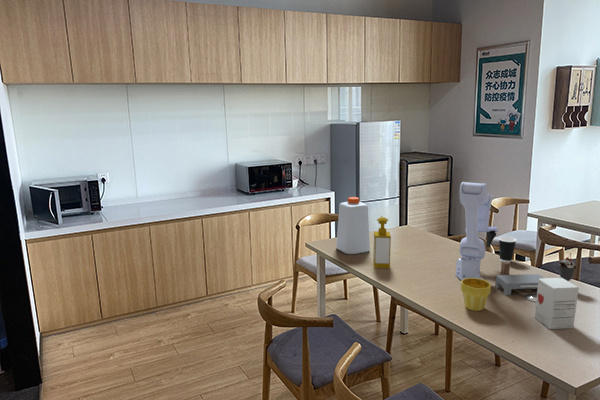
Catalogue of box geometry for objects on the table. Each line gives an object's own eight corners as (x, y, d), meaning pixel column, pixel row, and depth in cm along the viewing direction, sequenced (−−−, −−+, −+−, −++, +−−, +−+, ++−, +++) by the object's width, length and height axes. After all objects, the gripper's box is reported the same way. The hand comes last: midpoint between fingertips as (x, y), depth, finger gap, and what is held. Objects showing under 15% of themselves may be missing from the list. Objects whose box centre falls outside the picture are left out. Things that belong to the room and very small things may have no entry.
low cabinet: (506, 296, 179) (507, 284, 178) (495, 286, 188) (496, 275, 187) (550, 294, 180) (551, 282, 179) (537, 285, 189) (538, 274, 188)
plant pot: (471, 315, 163) (473, 289, 161) (453, 303, 173) (455, 279, 171) (495, 311, 166) (497, 286, 164) (477, 299, 176) (478, 276, 174)
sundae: (571, 286, 187) (576, 252, 184) (575, 293, 181) (580, 257, 178) (553, 284, 189) (557, 250, 186) (557, 291, 183) (561, 255, 180)
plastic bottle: (333, 247, 242) (333, 196, 236) (357, 244, 248) (358, 194, 242) (347, 256, 228) (348, 202, 223) (372, 251, 234) (374, 199, 229)
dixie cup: (518, 261, 218) (520, 239, 216) (508, 264, 214) (510, 242, 211) (502, 257, 224) (504, 235, 222) (493, 260, 220) (495, 238, 218)
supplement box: (533, 317, 161) (537, 277, 158) (557, 316, 161) (561, 276, 158) (549, 329, 152) (554, 288, 149) (574, 328, 153) (579, 287, 149)
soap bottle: (387, 259, 223) (388, 212, 218) (389, 268, 211) (391, 219, 206) (372, 258, 224) (373, 212, 219) (374, 267, 211) (375, 219, 206)
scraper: (522, 297, 178) (524, 280, 177) (496, 276, 200) (497, 261, 198) (537, 296, 178) (539, 280, 177) (509, 276, 200) (510, 261, 198)
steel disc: (530, 302, 173) (531, 300, 173) (523, 297, 178) (524, 294, 178) (543, 302, 173) (543, 299, 173) (536, 297, 178) (536, 294, 178)
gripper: (493, 216, 212) (491, 243, 215) (463, 216, 211) (461, 244, 214) (500, 219, 205) (498, 248, 208) (469, 220, 204) (467, 249, 207)
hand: (480, 246), depth 210 cm, fingers open, 7 cm apart
